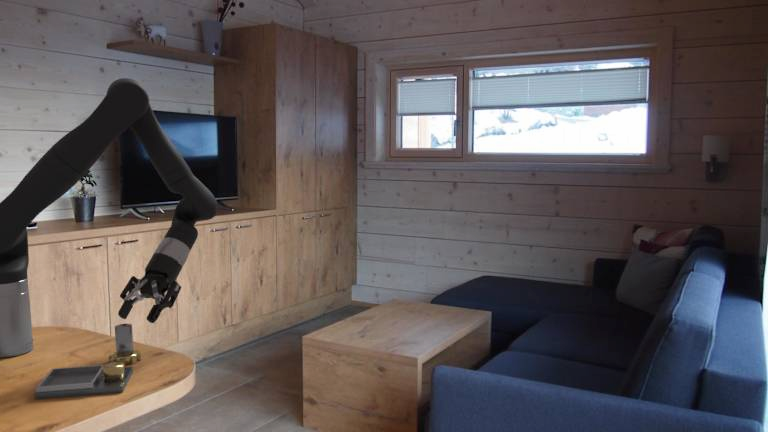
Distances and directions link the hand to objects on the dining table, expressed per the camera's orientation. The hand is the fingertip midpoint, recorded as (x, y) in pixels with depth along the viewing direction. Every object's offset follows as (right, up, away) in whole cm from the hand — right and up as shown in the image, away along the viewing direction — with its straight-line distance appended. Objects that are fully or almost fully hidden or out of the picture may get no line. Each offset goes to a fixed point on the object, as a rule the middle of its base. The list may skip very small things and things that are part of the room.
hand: (135, 319), depth 149 cm
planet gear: (-1, -9, -2) cm, 9 cm away
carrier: (-4, -11, -16) cm, 20 cm away
